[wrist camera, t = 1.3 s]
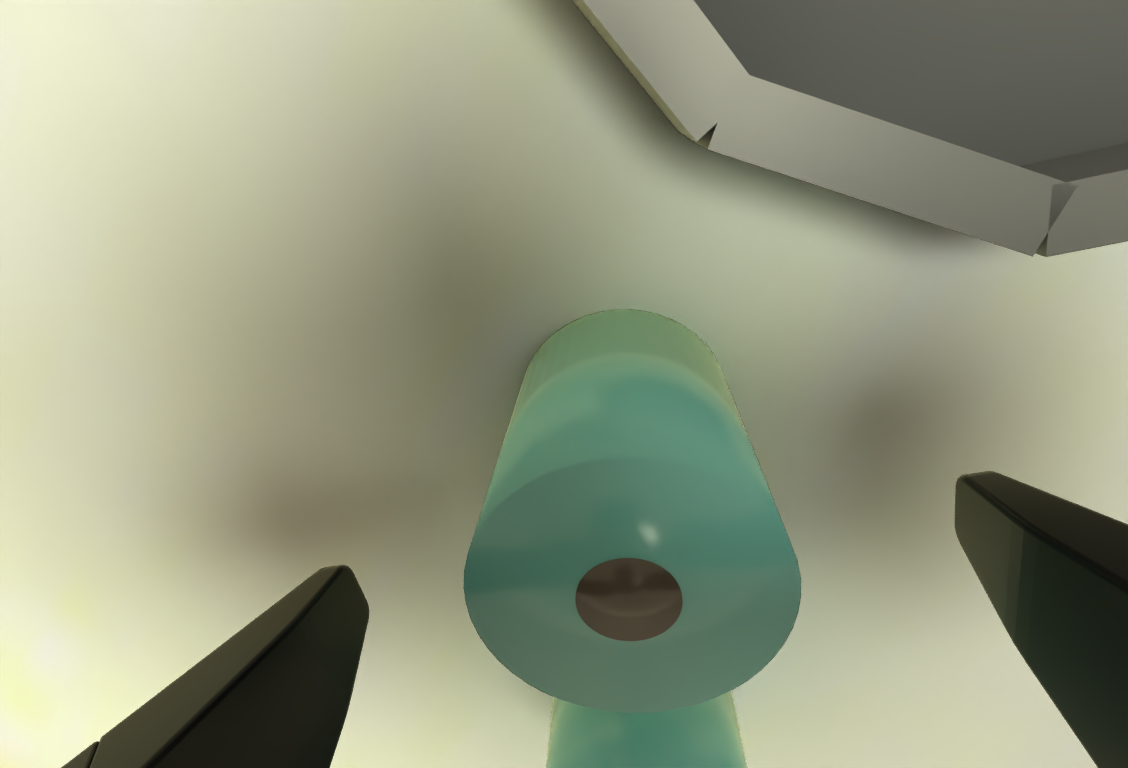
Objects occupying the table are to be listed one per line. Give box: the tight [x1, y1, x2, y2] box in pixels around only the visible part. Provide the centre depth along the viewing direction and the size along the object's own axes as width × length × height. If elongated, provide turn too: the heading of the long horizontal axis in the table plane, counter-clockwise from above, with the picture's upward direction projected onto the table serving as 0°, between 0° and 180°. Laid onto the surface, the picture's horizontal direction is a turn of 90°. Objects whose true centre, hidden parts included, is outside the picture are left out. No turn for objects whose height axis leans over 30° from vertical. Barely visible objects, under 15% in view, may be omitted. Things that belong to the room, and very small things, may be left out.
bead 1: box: [464, 310, 801, 713], centre depth 11 cm, size 4×4×6 cm
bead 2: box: [546, 690, 747, 768], centre depth 14 cm, size 4×4×6 cm
